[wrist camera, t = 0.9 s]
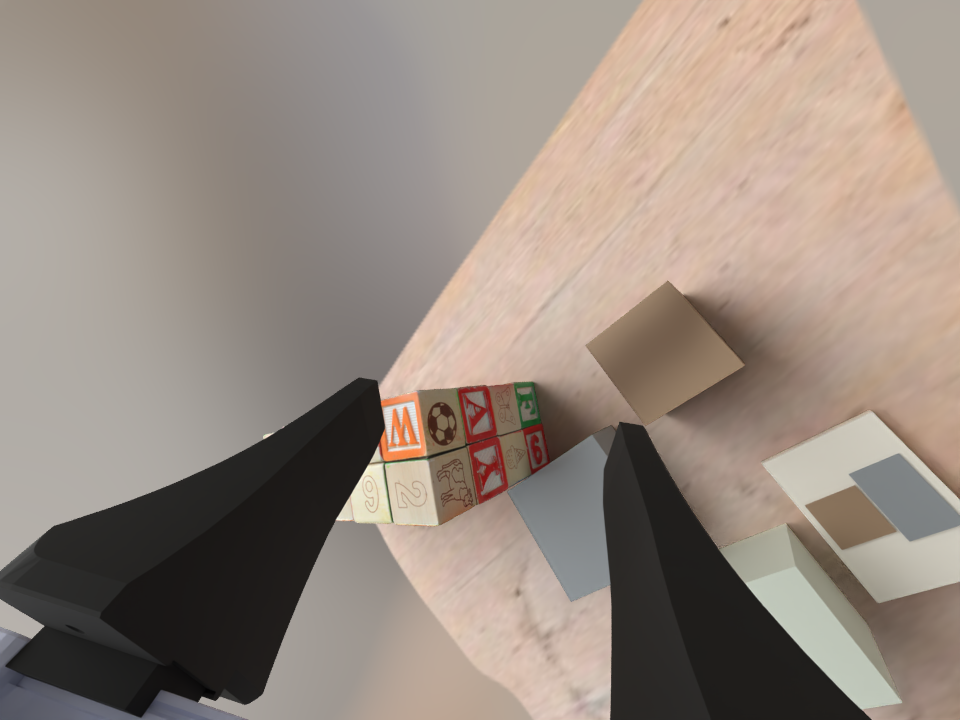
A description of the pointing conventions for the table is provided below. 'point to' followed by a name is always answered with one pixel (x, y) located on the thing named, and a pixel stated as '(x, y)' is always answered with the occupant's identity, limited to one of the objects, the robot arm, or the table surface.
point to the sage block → (814, 613)
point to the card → (875, 506)
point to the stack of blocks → (448, 453)
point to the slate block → (570, 514)
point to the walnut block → (663, 354)
